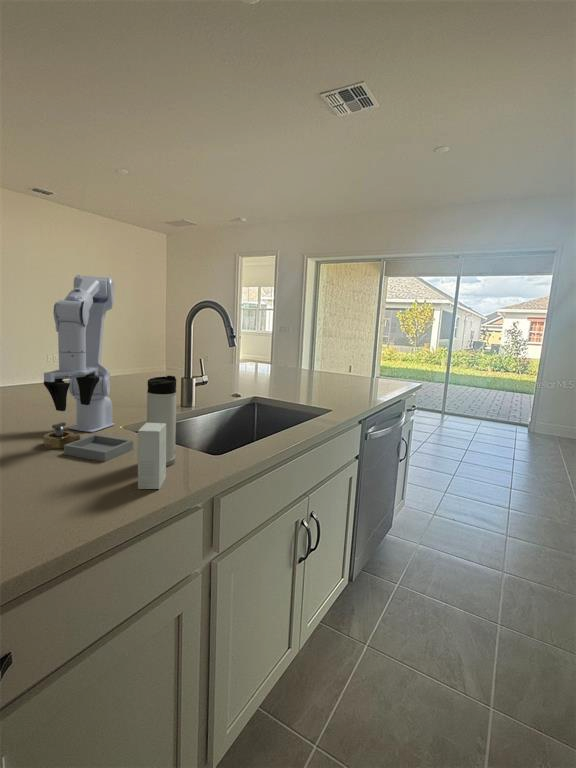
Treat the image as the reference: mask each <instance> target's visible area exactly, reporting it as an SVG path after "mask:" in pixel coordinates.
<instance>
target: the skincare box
mask: <svg viewBox="0 0 576 768" xmlns="http://www.w3.org/2000/svg"><path fill="white" fill-rule="evenodd" d="M166 471H167V466H166V424H165V423H147V422H145V423H144V424H143V425H142V426H141V427H140V428H139V430H137V489H138V490H139V489H159V490H160V489H161V487H162V485H163V483H164V482H165V479H166V478H167V472H166Z"/></svg>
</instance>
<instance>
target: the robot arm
mask: <svg viewBox="0 0 576 768" xmlns="http://www.w3.org/2000/svg"><path fill="white" fill-rule="evenodd" d="M114 297H115V283H114V280H113V278H112V277H109V276H108V277H103V276H90V275H89V276H88V275H80V274H76V275H75V277H73V289H71V290H70V292H68V294H67V295H66V296H65V298H64V299H59V300H58V301H56V302H55V303H54V305H53V312H52V313H53V320H54V323H55V331H56V332H57V340H58V341H57V342H58V344H57V345H58V369H56V370H51V371H48V372H43V386H45V388H46V389H47V391H48V393H49V395H50V396H51V399H52V401H53V404H54V407H55V411H58V412H65V411H66V410H67V409H66V408H67V395H68V391H69V394H70V395H71V396H72V397H73V398H74V400H75V405H76V406H75V408H76V409H75V411H76V413H75V414H76V415H75V416H76V417H75V418H76V424H75V425H72V426H69V430H75V431H80V432H86V433H95V432H98V431H101V430H105V429H107V428H109V427H113V426H115V424H116V423H114V422H113V402H112V400H111V398H110V397H109V396H108V395H110V391H111V374H110V372H109V369H108V368H106V366H103V365H102V364H101V362H102V361H101V360H102V353H103V352H102V350H103V340H104V339H103V338H104V325H105V318H106V314H107V312H108V311H110V310H112V309H113V305H114ZM64 380H68V382H65V381H64Z"/></svg>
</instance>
